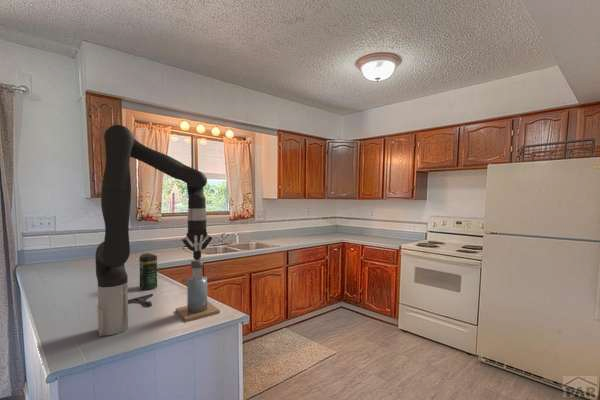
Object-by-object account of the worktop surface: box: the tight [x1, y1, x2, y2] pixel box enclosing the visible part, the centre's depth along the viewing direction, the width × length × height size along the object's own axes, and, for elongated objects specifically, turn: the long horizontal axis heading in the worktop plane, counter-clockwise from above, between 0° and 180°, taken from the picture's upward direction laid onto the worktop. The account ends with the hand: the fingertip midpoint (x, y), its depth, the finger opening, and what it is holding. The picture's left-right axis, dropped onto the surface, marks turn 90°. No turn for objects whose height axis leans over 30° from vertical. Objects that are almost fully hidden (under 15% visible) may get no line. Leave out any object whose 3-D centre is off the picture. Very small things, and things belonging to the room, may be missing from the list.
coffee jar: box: [138, 252, 158, 291], centre depth 156 cm, size 10×8×19 cm
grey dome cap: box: [190, 259, 205, 269], centre depth 121 cm, size 5×8×7 cm, turn 39°
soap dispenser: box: [175, 267, 221, 323], centre depth 123 cm, size 14×14×19 cm
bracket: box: [128, 293, 154, 308], centre depth 134 cm, size 14×15×3 cm
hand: (197, 259), depth 123 cm, fingers closed
